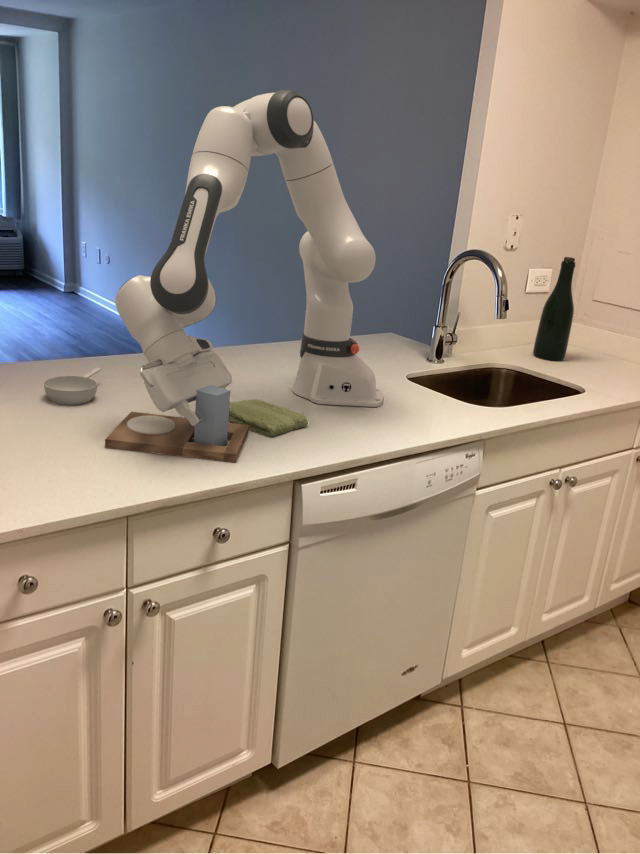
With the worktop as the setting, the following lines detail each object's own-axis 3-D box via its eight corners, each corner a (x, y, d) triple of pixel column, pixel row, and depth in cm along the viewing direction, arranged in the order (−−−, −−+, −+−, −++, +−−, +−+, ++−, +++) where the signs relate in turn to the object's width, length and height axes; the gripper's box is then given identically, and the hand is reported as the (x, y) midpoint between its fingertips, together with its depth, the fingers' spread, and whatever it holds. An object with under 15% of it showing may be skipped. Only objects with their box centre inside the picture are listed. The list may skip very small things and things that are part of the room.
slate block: (207, 439, 141) (210, 385, 138) (226, 444, 140) (230, 390, 136) (193, 445, 138) (196, 390, 134) (213, 451, 136) (216, 395, 132)
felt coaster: (179, 421, 144) (179, 418, 144) (168, 437, 136) (168, 434, 136) (135, 416, 144) (135, 413, 144) (120, 431, 136) (120, 428, 136)
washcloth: (251, 406, 165) (252, 392, 164) (311, 428, 155) (312, 414, 153) (208, 416, 155) (209, 402, 154) (268, 441, 145) (270, 426, 144)
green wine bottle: (563, 363, 236) (586, 260, 225) (530, 357, 240) (551, 256, 228) (565, 357, 246) (587, 258, 235) (533, 351, 249) (554, 253, 238)
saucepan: (33, 401, 151) (33, 384, 150) (77, 380, 168) (77, 364, 167) (81, 410, 150) (81, 392, 148) (121, 387, 166) (121, 371, 165)
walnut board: (248, 432, 147) (249, 425, 146) (235, 462, 132) (236, 454, 131) (131, 418, 147) (131, 411, 147) (105, 447, 132) (105, 439, 132)
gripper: (146, 356, 127) (189, 422, 126) (214, 338, 144) (252, 396, 143) (126, 375, 130) (167, 440, 129) (195, 356, 147) (232, 412, 147)
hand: (212, 417), depth 137 cm, fingers open, 8 cm apart
